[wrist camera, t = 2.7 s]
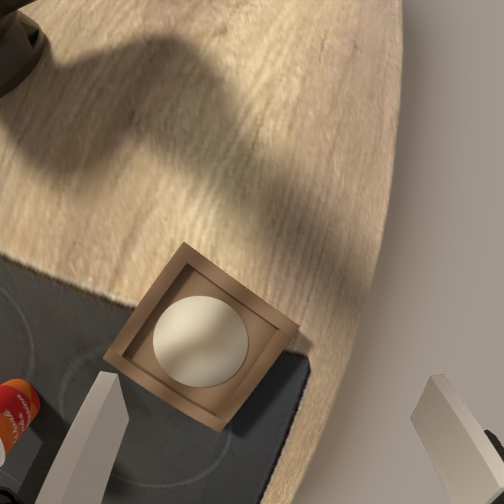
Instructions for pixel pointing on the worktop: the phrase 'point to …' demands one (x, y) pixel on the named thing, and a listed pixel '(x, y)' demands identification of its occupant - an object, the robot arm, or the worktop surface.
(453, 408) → the robot arm
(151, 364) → the wooden coaster holder
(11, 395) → the paper cup
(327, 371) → the worktop surface
